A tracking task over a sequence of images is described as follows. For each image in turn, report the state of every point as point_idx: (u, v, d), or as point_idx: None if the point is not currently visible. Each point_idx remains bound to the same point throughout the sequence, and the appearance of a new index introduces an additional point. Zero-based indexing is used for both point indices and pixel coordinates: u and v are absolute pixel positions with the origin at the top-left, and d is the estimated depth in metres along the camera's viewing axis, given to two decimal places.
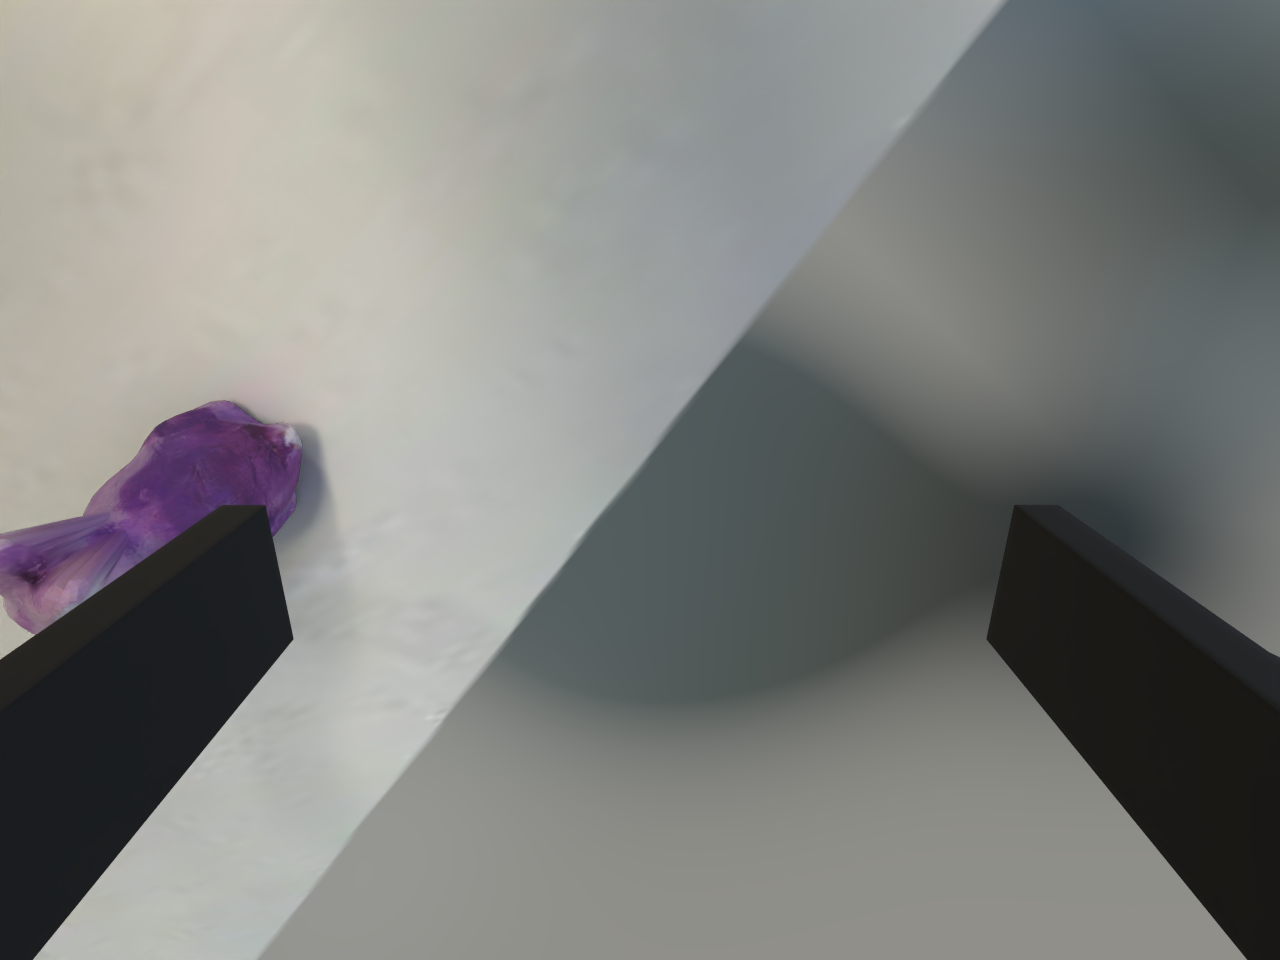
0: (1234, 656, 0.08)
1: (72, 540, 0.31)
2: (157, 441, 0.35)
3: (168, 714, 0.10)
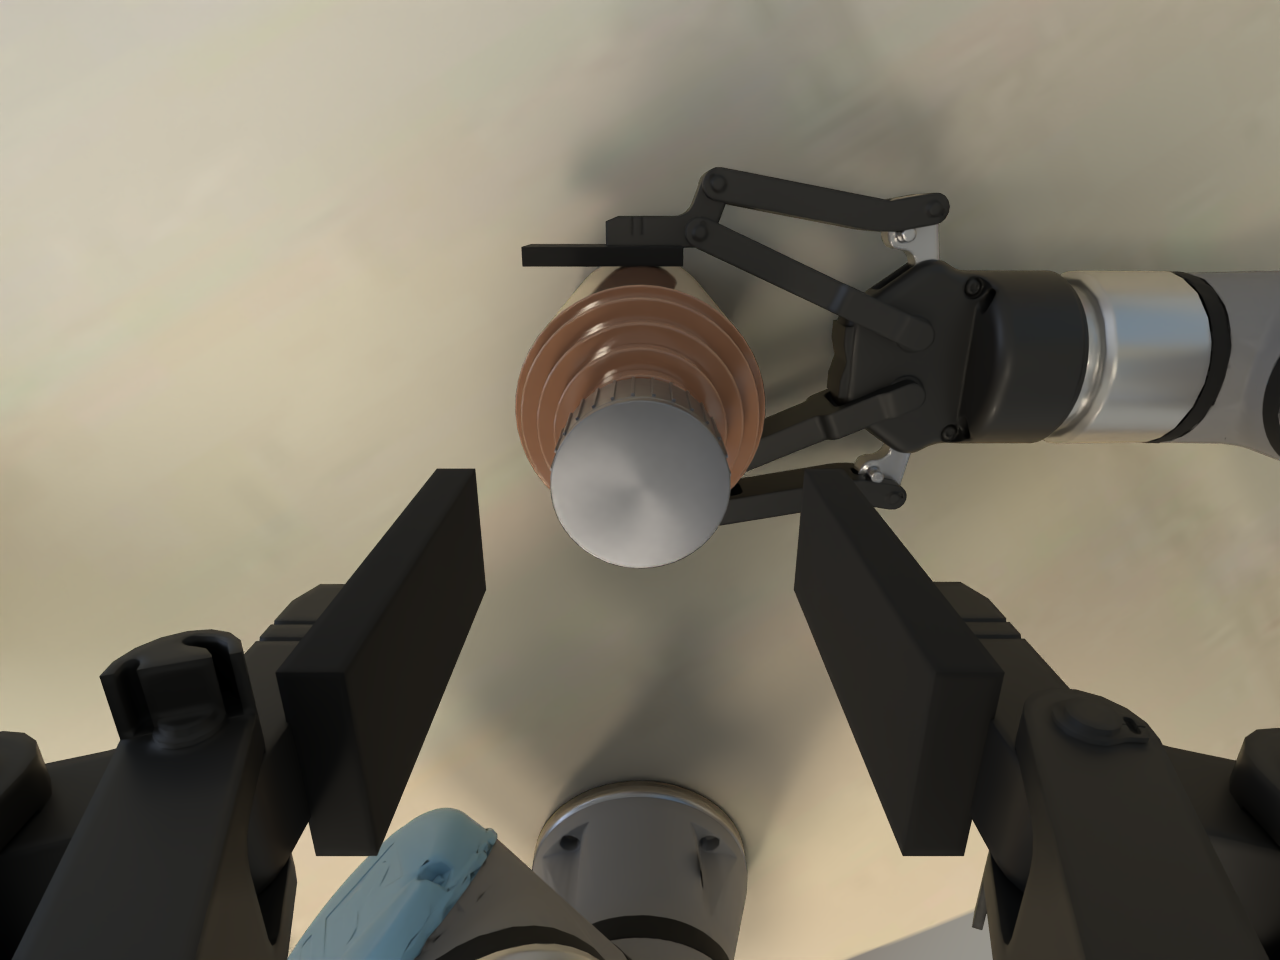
0: (896, 578, 0.10)
1: None
2: None
3: (438, 638, 0.11)
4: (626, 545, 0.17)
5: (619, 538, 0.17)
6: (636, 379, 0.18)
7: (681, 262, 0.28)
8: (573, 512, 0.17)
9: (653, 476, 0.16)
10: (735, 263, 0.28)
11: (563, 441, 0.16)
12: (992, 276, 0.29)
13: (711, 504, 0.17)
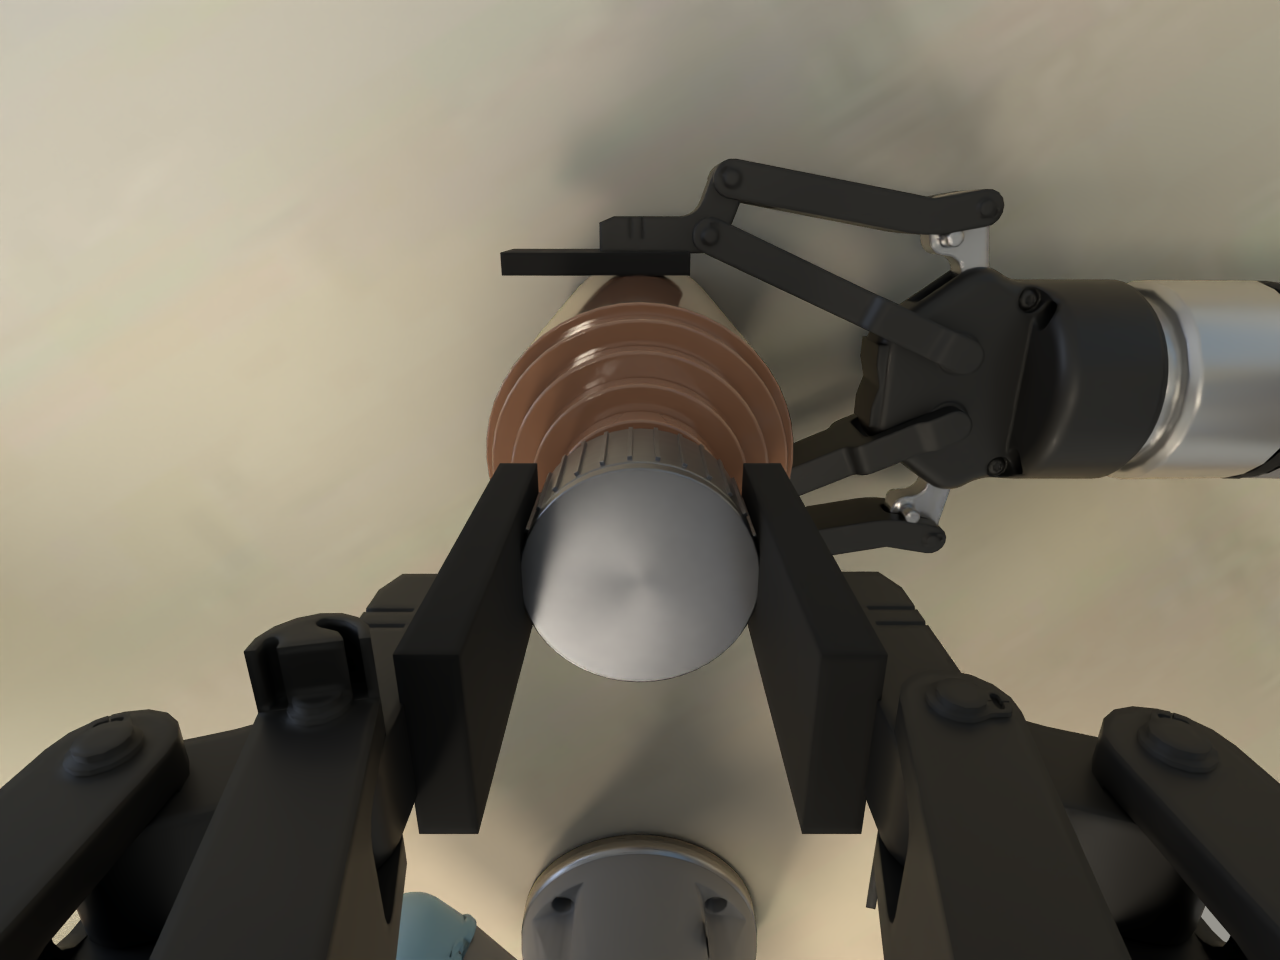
0: (806, 566, 0.10)
1: None
2: None
3: (514, 627, 0.12)
4: (621, 653, 0.13)
5: (612, 645, 0.13)
6: (634, 430, 0.13)
7: (688, 270, 0.24)
8: (550, 612, 0.12)
9: (657, 566, 0.12)
10: (751, 271, 0.24)
11: (535, 521, 0.12)
12: (1052, 287, 0.25)
13: (734, 602, 0.12)
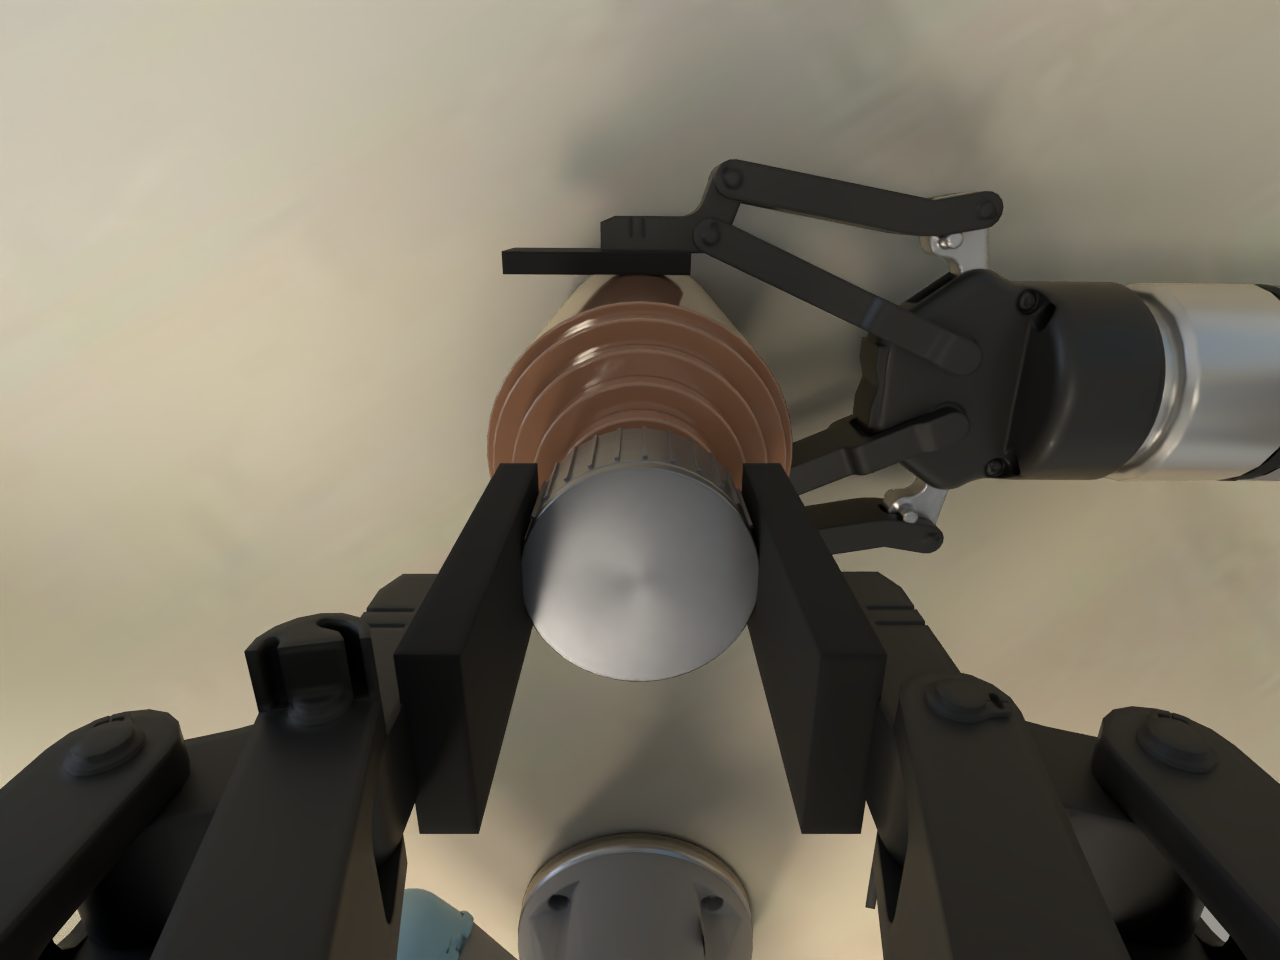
0: (806, 566, 0.10)
1: None
2: None
3: (515, 627, 0.12)
4: (726, 574, 0.12)
5: (718, 584, 0.12)
6: None
7: (688, 270, 0.24)
8: (699, 645, 0.13)
9: (617, 572, 0.12)
10: (751, 271, 0.24)
11: (612, 676, 0.13)
12: (1050, 289, 0.25)
13: (630, 489, 0.12)
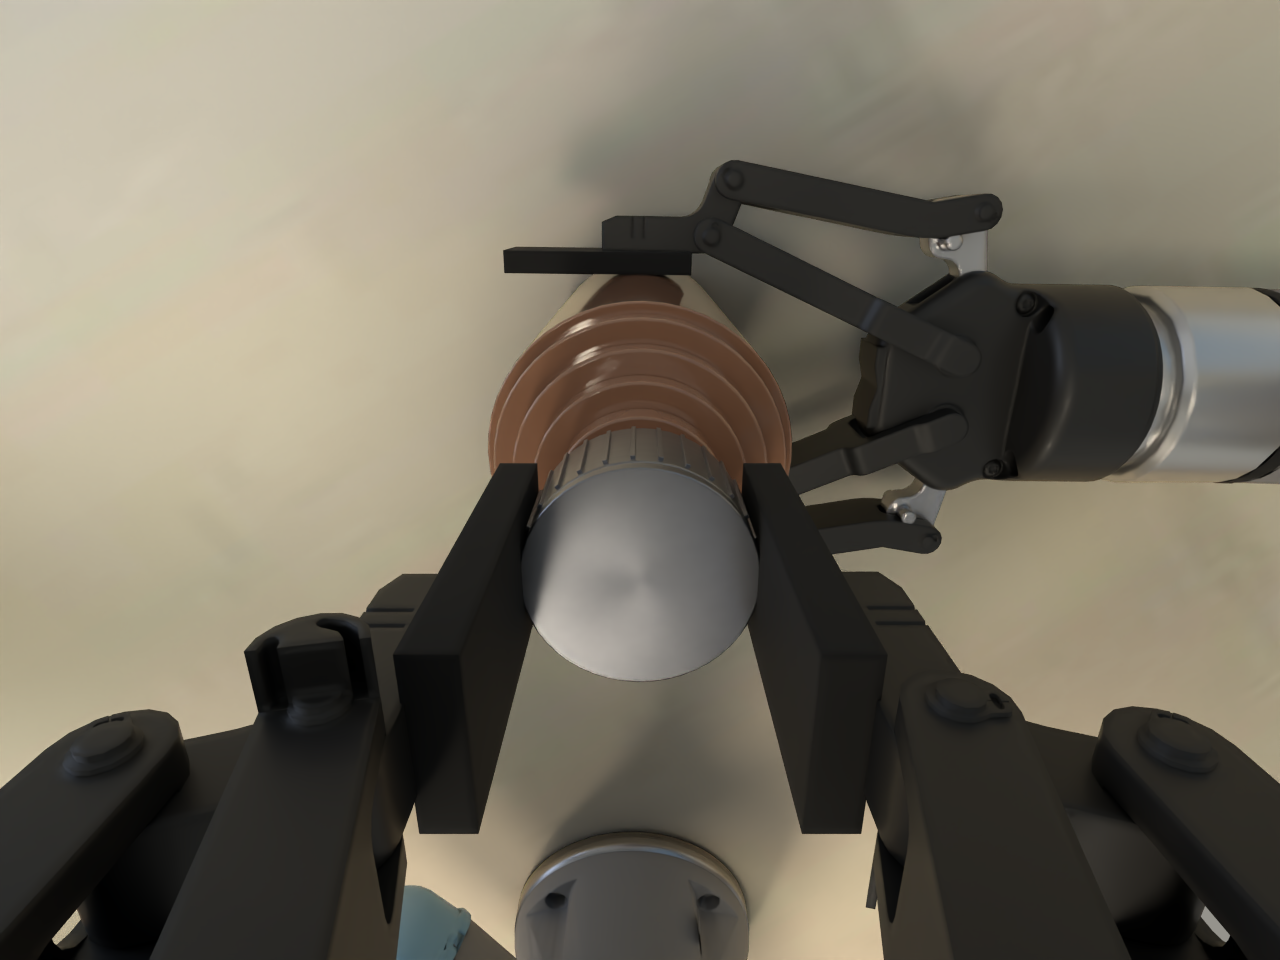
0: (806, 566, 0.10)
1: None
2: None
3: (514, 627, 0.12)
4: (602, 509, 0.12)
5: (617, 511, 0.12)
6: None
7: (689, 270, 0.24)
8: (693, 505, 0.12)
9: (637, 603, 0.12)
10: (752, 272, 0.24)
11: None
12: (1048, 291, 0.25)
13: (551, 615, 0.12)
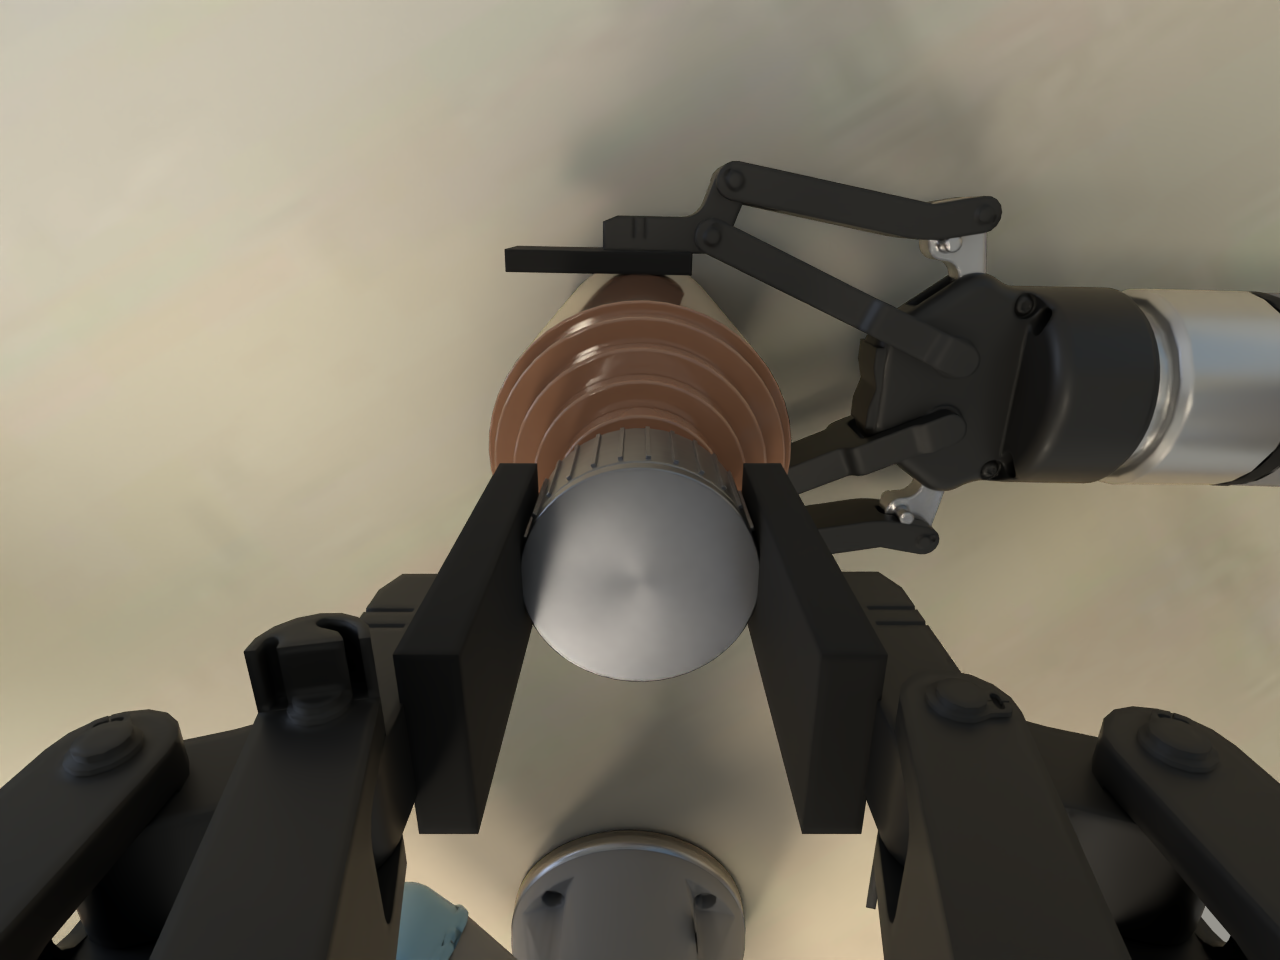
0: (807, 566, 0.10)
1: None
2: None
3: (514, 627, 0.12)
4: (578, 632, 0.13)
5: (575, 620, 0.12)
6: None
7: (690, 270, 0.24)
8: (543, 561, 0.12)
9: (664, 577, 0.12)
10: (752, 273, 0.25)
11: (590, 476, 0.12)
12: (1047, 294, 0.25)
13: (703, 643, 0.13)
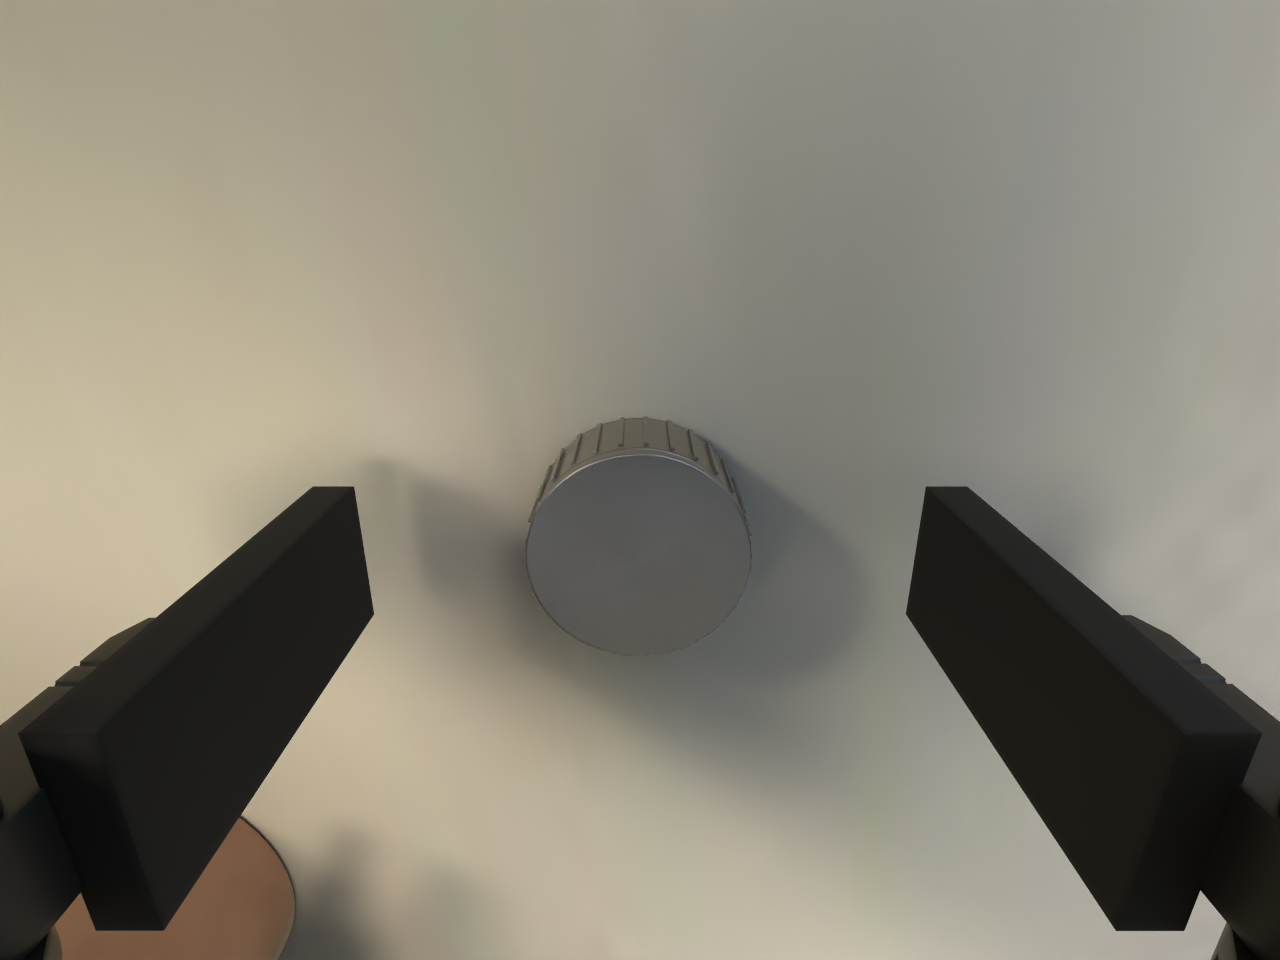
0: (1084, 615, 0.09)
1: None
2: None
3: (285, 675, 0.10)
4: (580, 608, 0.13)
5: (578, 597, 0.13)
6: None
7: None
8: (549, 542, 0.13)
9: (661, 557, 0.13)
10: None
11: (592, 462, 0.12)
12: None
13: (698, 619, 0.14)
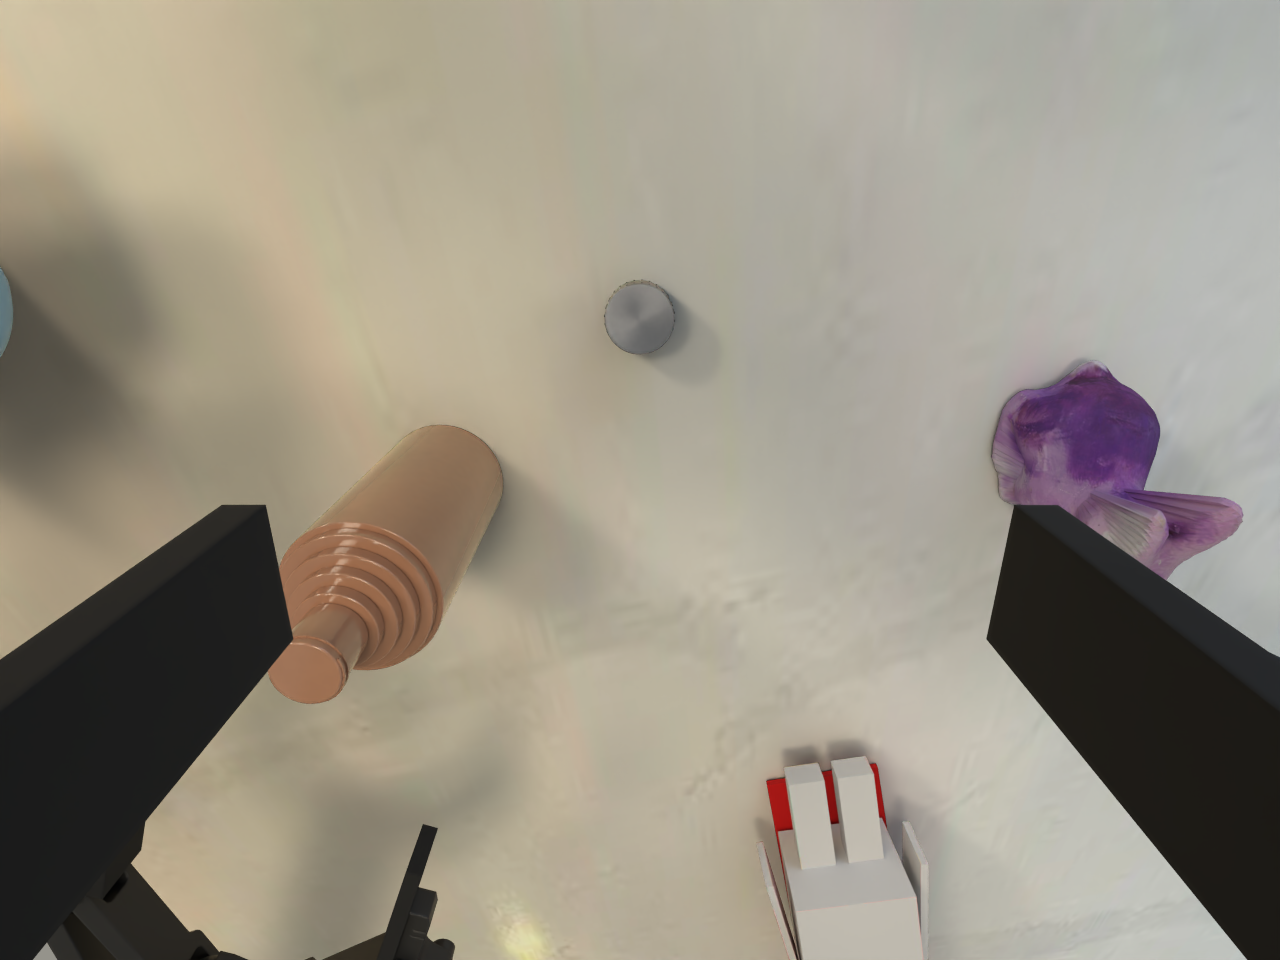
0: (1234, 656, 0.08)
1: None
2: (1055, 432, 0.42)
3: (168, 714, 0.10)
4: (621, 336, 0.43)
5: (620, 332, 0.43)
6: None
7: None
8: (612, 313, 0.43)
9: (646, 318, 0.43)
10: None
11: (625, 286, 0.42)
12: None
13: (658, 340, 0.43)
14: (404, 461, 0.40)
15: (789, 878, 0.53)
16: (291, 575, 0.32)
